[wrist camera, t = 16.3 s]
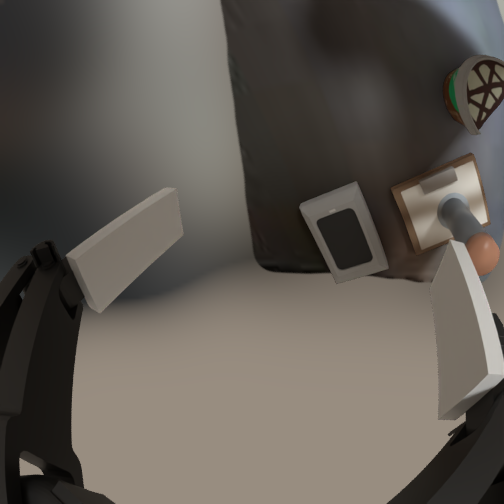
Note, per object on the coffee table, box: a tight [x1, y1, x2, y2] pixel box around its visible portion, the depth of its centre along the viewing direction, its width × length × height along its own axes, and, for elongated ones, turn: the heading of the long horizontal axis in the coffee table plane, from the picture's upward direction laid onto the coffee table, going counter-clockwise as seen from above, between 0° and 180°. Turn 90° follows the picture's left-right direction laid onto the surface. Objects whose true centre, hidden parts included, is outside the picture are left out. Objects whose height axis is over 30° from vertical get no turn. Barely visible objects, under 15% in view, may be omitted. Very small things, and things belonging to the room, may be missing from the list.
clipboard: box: [391, 153, 490, 256], centre depth 32 cm, size 12×15×2 cm
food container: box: [443, 55, 504, 135], centre depth 19 cm, size 12×6×10 cm, turn 147°
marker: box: [441, 198, 500, 276], centre depth 27 cm, size 5×5×13 cm
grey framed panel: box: [299, 181, 389, 284], centre depth 41 cm, size 10×4×15 cm
